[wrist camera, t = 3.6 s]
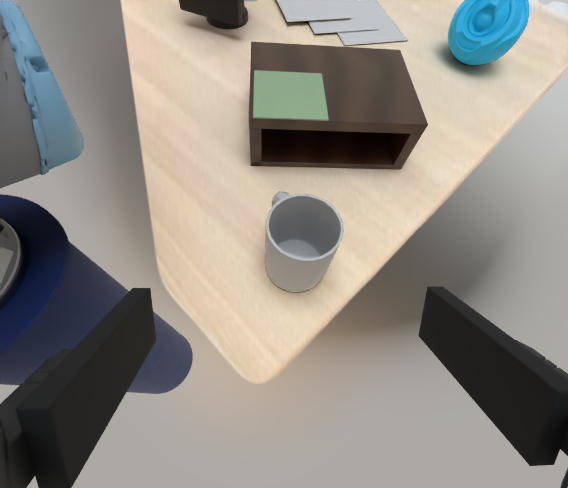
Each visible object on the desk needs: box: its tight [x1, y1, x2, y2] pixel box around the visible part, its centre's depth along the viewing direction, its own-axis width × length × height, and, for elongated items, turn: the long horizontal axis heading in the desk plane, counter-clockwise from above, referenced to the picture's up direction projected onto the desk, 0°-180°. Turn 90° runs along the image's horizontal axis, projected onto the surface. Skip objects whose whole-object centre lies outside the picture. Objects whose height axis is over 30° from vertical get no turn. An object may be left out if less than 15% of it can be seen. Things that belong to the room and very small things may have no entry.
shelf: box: [249, 42, 428, 169], centre depth 43 cm, size 22×16×8 cm
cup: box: [265, 191, 344, 292], centre depth 32 cm, size 7×10×9 cm
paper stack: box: [277, 0, 408, 45], centre depth 63 cm, size 23×25×1 cm
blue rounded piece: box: [448, 0, 529, 65], centre depth 53 cm, size 12×11×12 cm
